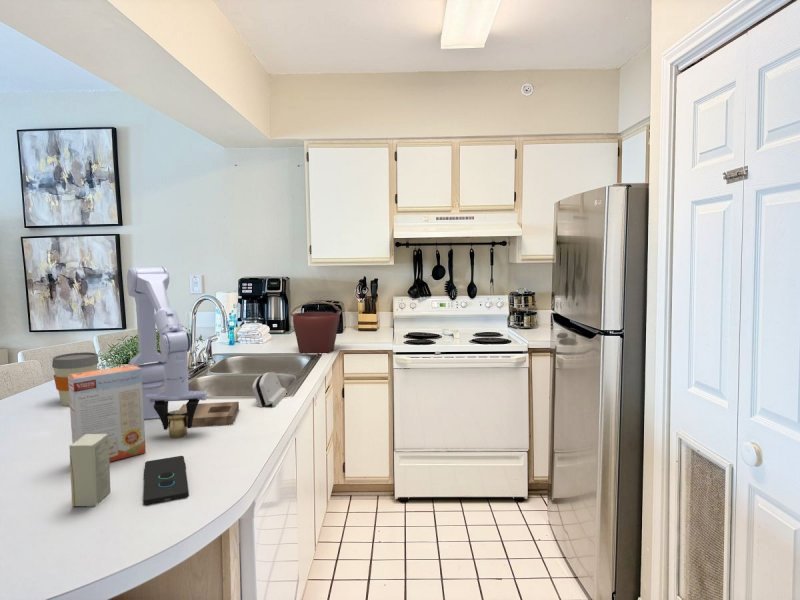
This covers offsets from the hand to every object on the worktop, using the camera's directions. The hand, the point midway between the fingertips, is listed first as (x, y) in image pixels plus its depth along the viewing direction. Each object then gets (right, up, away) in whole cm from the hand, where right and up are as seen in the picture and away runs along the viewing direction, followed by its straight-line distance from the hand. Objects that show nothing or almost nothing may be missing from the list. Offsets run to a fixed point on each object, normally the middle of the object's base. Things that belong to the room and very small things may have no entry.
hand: (178, 427), depth 132 cm
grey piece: (+16, 0, +33) cm, 36 cm away
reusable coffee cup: (-46, +1, +30) cm, 54 cm away
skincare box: (-1, -5, -35) cm, 35 cm away
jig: (+2, -1, +14) cm, 14 cm away
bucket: (+17, +8, +116) cm, 117 cm away
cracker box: (-9, -4, -15) cm, 18 cm away
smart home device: (+9, -5, -26) cm, 28 cm away
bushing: (0, -2, 0) cm, 2 cm away
